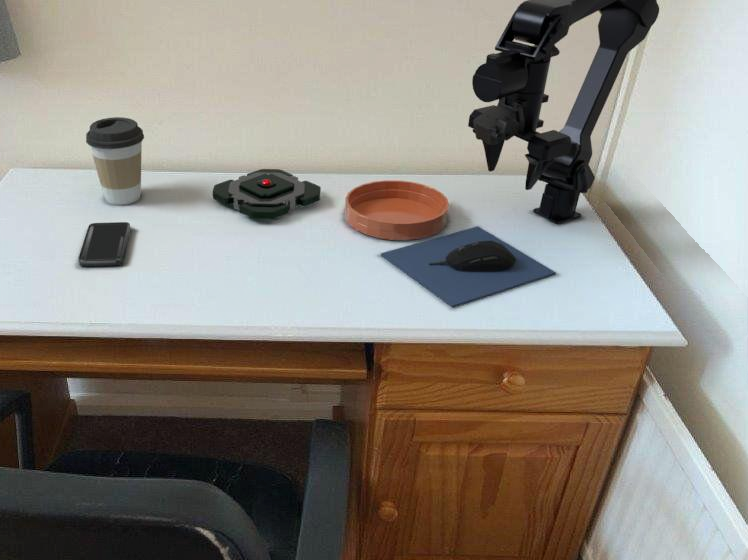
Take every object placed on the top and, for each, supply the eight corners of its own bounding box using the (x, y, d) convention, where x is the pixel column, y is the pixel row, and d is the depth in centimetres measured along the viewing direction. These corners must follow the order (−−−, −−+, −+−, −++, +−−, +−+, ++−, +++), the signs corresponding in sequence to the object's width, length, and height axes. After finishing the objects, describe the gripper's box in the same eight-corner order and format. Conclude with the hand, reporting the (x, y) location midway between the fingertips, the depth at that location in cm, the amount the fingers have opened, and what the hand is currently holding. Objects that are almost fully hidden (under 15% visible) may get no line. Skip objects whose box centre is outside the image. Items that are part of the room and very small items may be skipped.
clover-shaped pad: (204, 200, 157) (203, 178, 154) (270, 176, 166) (270, 155, 163) (262, 229, 146) (261, 207, 143) (329, 202, 155) (330, 180, 152)
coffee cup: (121, 182, 165) (112, 111, 156) (162, 194, 159) (155, 122, 150) (83, 201, 158) (71, 128, 148) (123, 214, 152) (114, 139, 143)
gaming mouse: (425, 256, 136) (428, 235, 134) (508, 254, 136) (513, 233, 134) (432, 273, 131) (435, 252, 129) (519, 271, 131) (524, 250, 129)
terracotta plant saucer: (406, 190, 159) (407, 173, 157) (467, 226, 146) (470, 209, 143) (325, 209, 152) (326, 192, 150) (382, 250, 139) (384, 232, 137)
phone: (77, 261, 135) (89, 222, 147) (78, 267, 135) (90, 228, 147) (122, 260, 135) (131, 221, 147) (123, 265, 136) (131, 227, 147)
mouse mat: (477, 228, 145) (477, 226, 145) (555, 274, 131) (556, 272, 131) (380, 255, 137) (380, 253, 137) (452, 307, 123) (452, 305, 123)
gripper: (449, 81, 128) (438, 171, 138) (529, 114, 115) (511, 211, 125) (500, 70, 132) (486, 158, 142) (584, 101, 119) (562, 195, 129)
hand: (509, 179), depth 134 cm, fingers open, 9 cm apart
